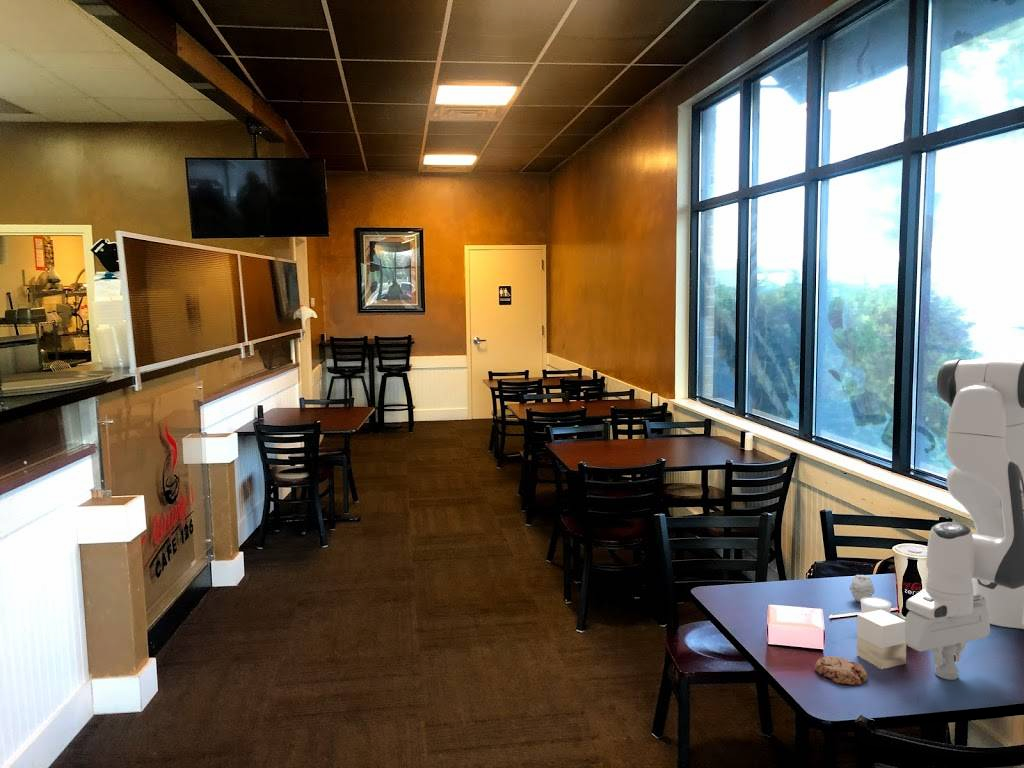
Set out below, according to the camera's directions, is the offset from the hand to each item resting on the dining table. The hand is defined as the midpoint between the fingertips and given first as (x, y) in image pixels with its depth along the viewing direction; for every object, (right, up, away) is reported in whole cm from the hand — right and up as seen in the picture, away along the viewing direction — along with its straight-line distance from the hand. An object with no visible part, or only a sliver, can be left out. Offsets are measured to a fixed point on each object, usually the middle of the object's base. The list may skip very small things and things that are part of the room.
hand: (947, 662), depth 162 cm
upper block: (-10, +2, +8) cm, 13 cm away
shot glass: (-4, -1, +24) cm, 25 cm away
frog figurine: (+1, +1, +42) cm, 42 cm away
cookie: (-22, -4, +2) cm, 22 cm away
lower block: (-10, -3, +8) cm, 13 cm away
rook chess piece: (0, -3, 0) cm, 3 cm away
